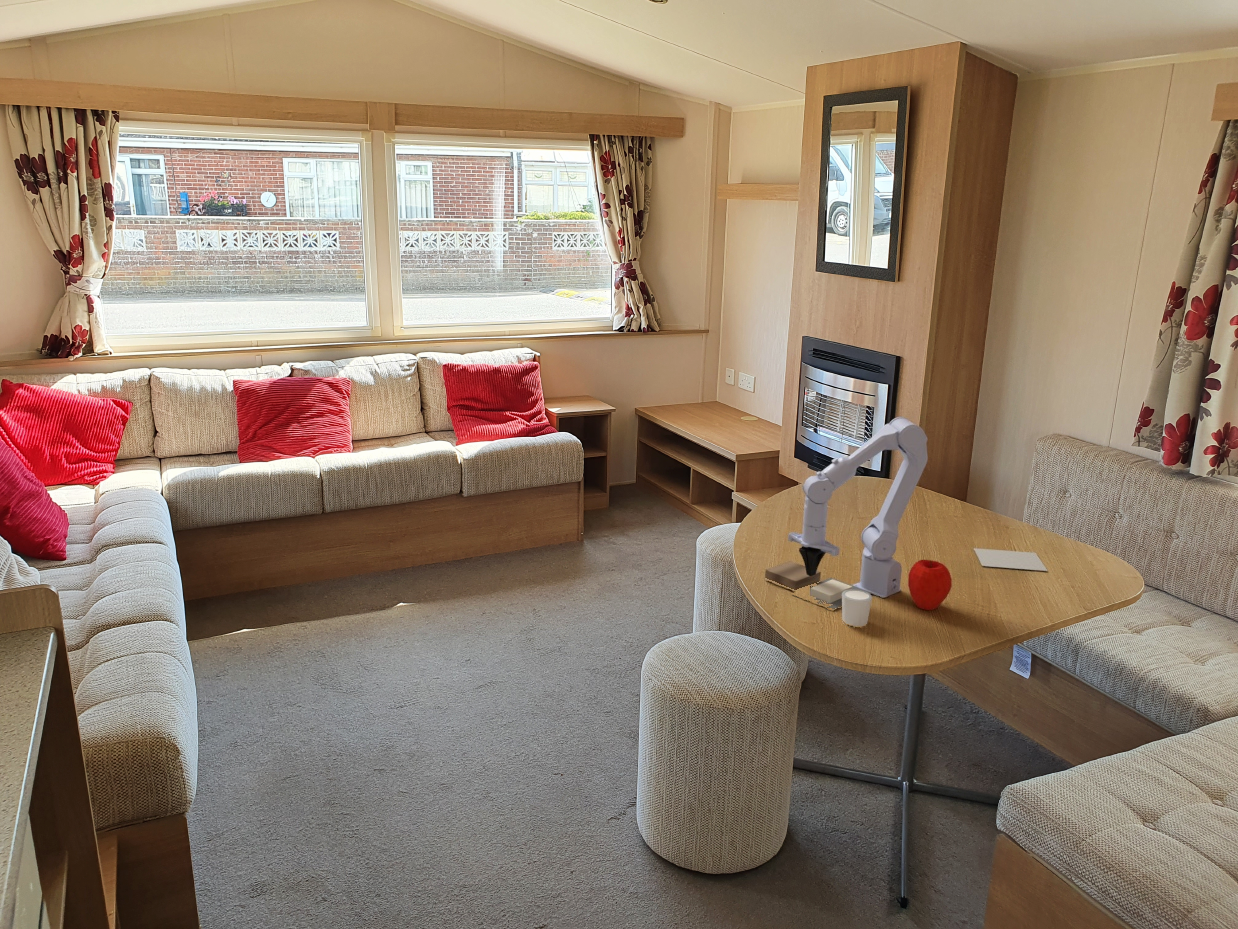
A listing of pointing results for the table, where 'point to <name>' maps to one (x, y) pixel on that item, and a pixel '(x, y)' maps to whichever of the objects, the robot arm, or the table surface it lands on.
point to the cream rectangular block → (829, 590)
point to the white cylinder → (856, 607)
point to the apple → (929, 583)
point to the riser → (791, 575)
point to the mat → (839, 602)
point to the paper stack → (1009, 559)
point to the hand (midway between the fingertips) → (811, 574)
